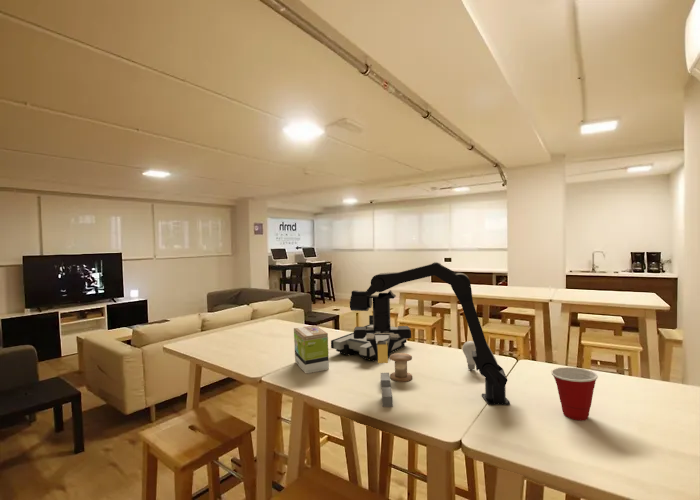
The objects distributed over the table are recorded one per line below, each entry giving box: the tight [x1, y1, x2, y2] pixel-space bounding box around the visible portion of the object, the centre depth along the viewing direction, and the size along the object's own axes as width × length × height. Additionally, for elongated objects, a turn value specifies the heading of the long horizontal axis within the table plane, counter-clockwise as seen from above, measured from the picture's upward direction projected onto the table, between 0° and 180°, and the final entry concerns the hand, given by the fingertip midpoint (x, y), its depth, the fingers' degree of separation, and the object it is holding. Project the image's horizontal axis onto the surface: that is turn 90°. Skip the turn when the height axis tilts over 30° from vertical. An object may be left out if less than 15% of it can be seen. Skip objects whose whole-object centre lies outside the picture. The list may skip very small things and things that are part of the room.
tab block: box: [377, 341, 389, 364], centre depth 114 cm, size 4×3×6 cm
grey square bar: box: [380, 372, 394, 408], centre depth 111 cm, size 19×3×3 cm, turn 177°
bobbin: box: [389, 352, 413, 383], centre depth 124 cm, size 8×8×8 cm
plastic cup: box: [550, 366, 599, 421], centre depth 94 cm, size 11×11×12 cm
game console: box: [330, 324, 409, 362], centre depth 157 cm, size 21×32×8 cm, turn 142°
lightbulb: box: [462, 340, 476, 371], centre depth 129 cm, size 6×6×11 cm
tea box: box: [293, 324, 330, 374], centre depth 138 cm, size 15×10×15 cm, turn 25°
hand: (382, 358), depth 114 cm, fingers closed on tab block, 3 cm apart
